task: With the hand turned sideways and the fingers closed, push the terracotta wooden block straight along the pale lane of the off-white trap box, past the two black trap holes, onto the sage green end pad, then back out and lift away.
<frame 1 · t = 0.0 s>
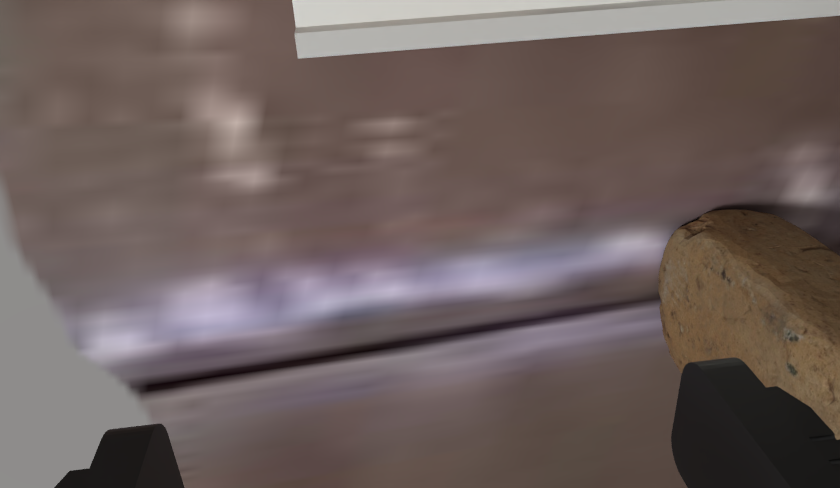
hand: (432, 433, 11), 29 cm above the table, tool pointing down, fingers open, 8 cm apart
block: (704, 269, 46), on the table
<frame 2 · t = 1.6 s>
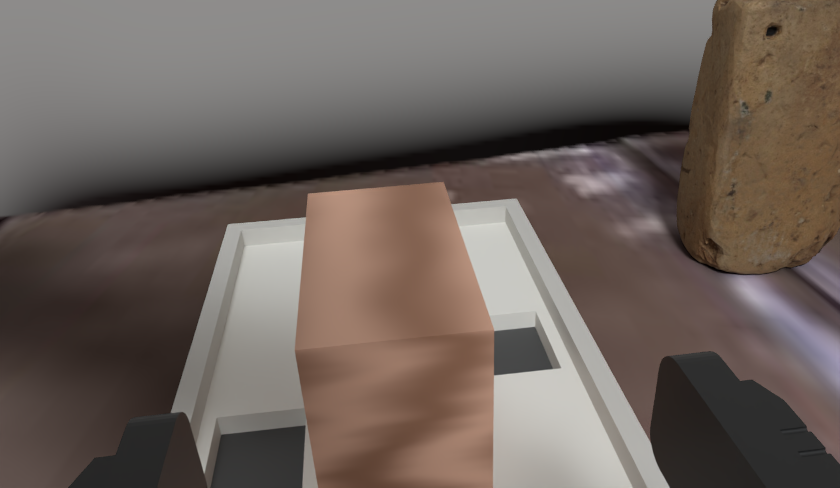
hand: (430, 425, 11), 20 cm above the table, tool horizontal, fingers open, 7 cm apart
terracotta block: (400, 450, 35), point 1 cm above the table, touching trap box
trap box: (391, 373, 43), on the table
block: (747, 254, 54), on the table
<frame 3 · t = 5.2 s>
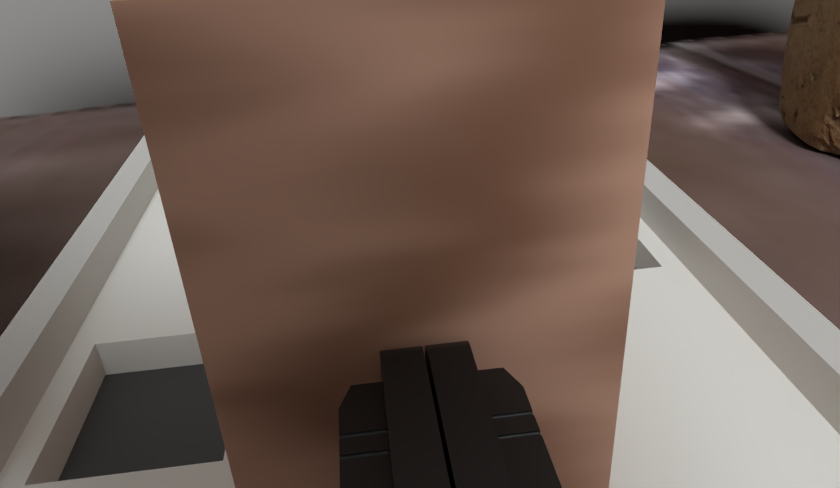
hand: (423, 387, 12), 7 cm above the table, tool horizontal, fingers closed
terracotta block: (405, 386, 20), point 1 cm above the table, touching gripper, trap box
trap box: (388, 287, 28), on the table
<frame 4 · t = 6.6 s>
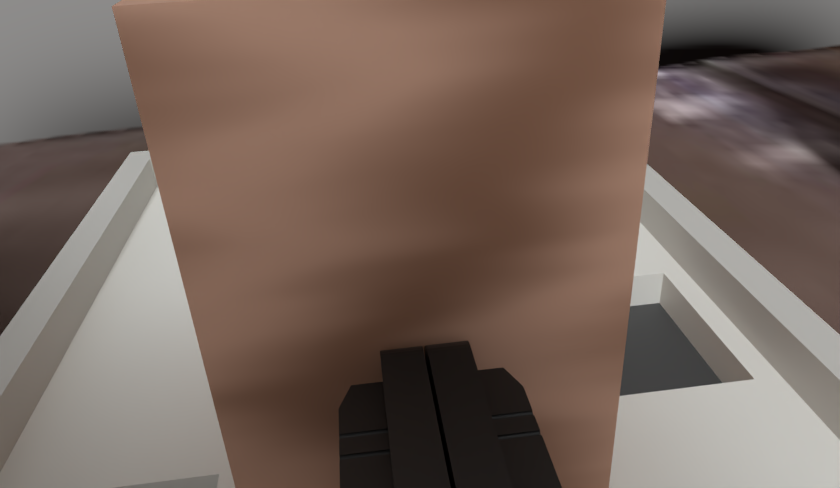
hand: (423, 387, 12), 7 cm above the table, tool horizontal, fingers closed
terracotta block: (405, 388, 20), point 2 cm above the table
trap box: (401, 392, 22), on the table
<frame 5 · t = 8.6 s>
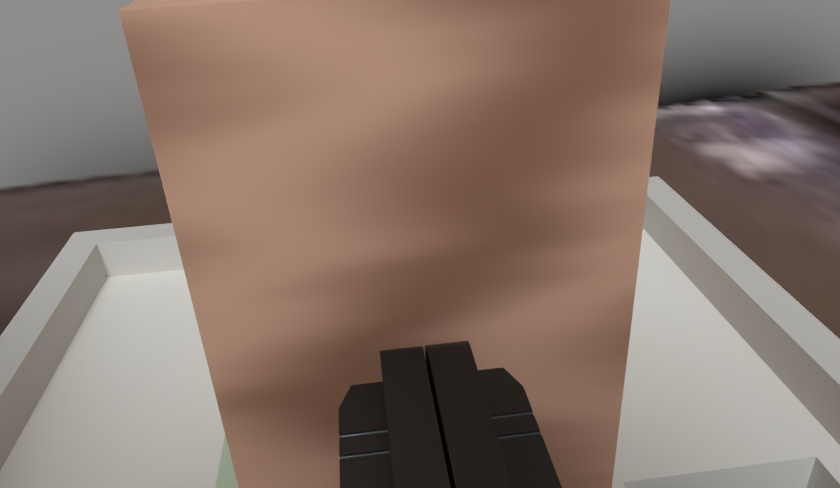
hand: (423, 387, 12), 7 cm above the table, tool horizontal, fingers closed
terracotta block: (408, 390, 20), point 2 cm above the table, touching gripper, trap box
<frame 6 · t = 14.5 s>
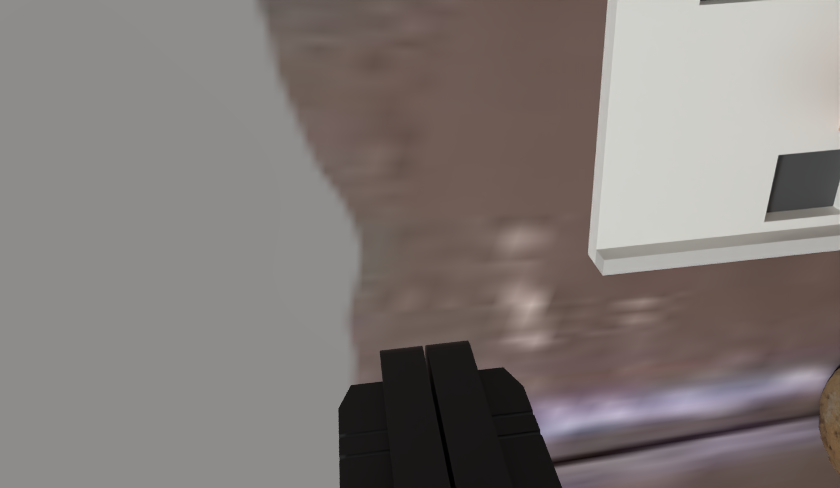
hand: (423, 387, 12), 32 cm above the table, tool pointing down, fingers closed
trap box: (824, 70, 44), on the table
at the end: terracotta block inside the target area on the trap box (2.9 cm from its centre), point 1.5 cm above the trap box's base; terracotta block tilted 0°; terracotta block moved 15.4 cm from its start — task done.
